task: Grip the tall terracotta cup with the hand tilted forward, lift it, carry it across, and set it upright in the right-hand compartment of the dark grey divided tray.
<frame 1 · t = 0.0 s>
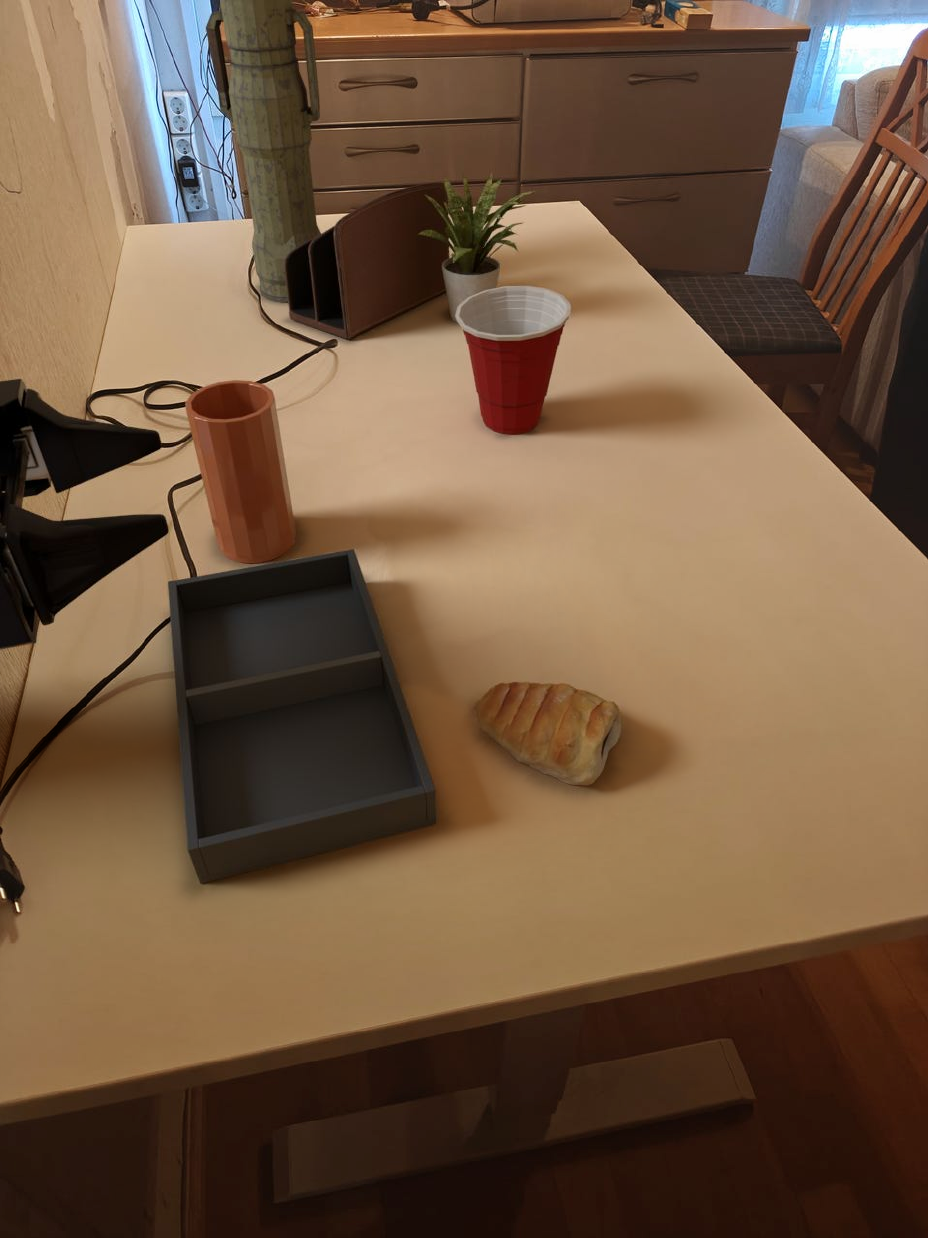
hand: (163, 478, 50), 17 cm above the table, tool horizontal, fingers open, 9 cm apart
letter holder: (372, 306, 111), on the table
cup: (257, 539, 74), on the table
house plant: (473, 321, 108), on the table
pastry: (552, 744, 57), on the table
plastic cup: (508, 422, 89), on the table
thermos: (293, 290, 115), on the table
tray: (292, 707, 60), on the table
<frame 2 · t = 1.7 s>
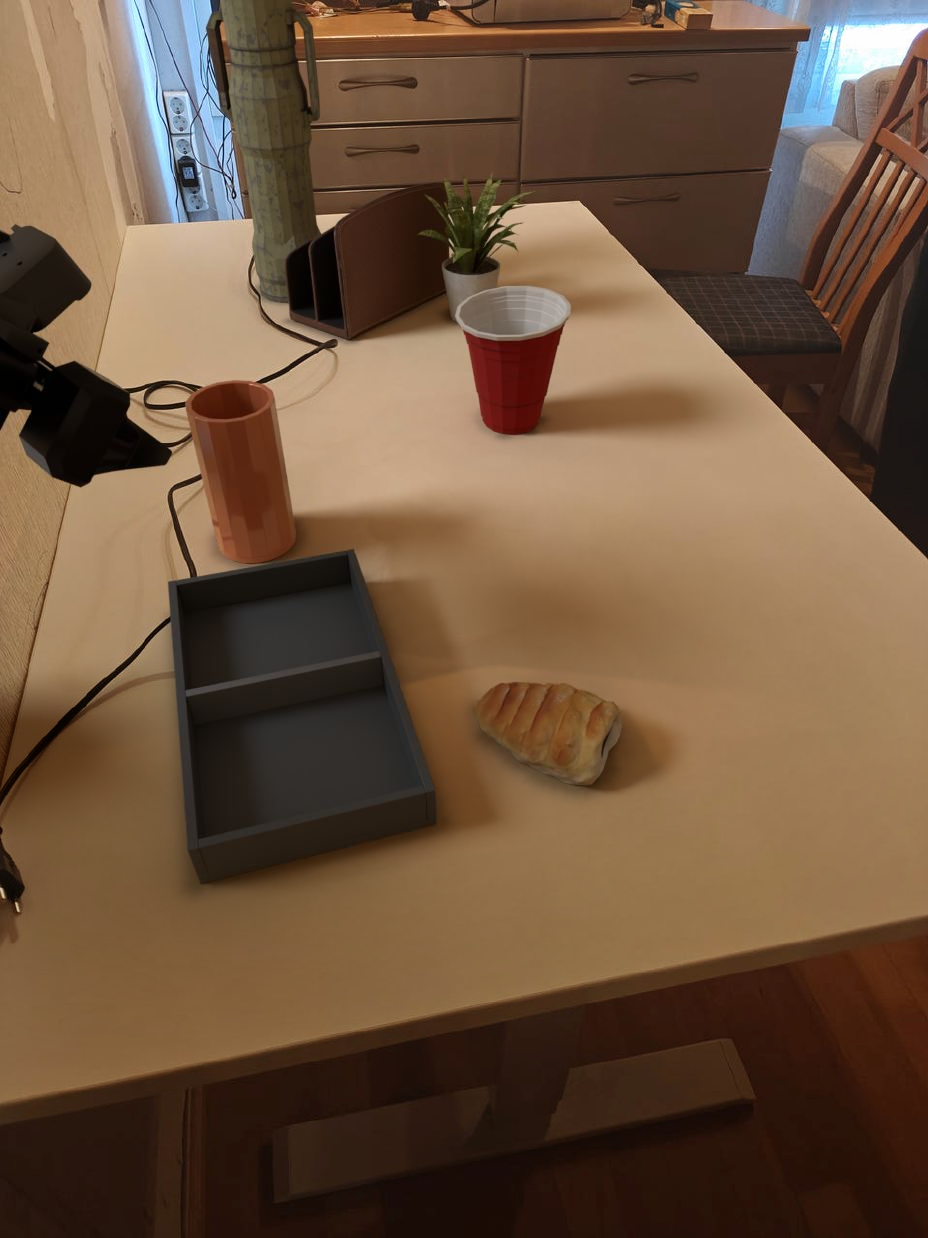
hand: (133, 432, 61), 13 cm above the table, tool tilted 45°, fingers open, 9 cm apart
nothing on the table moved.
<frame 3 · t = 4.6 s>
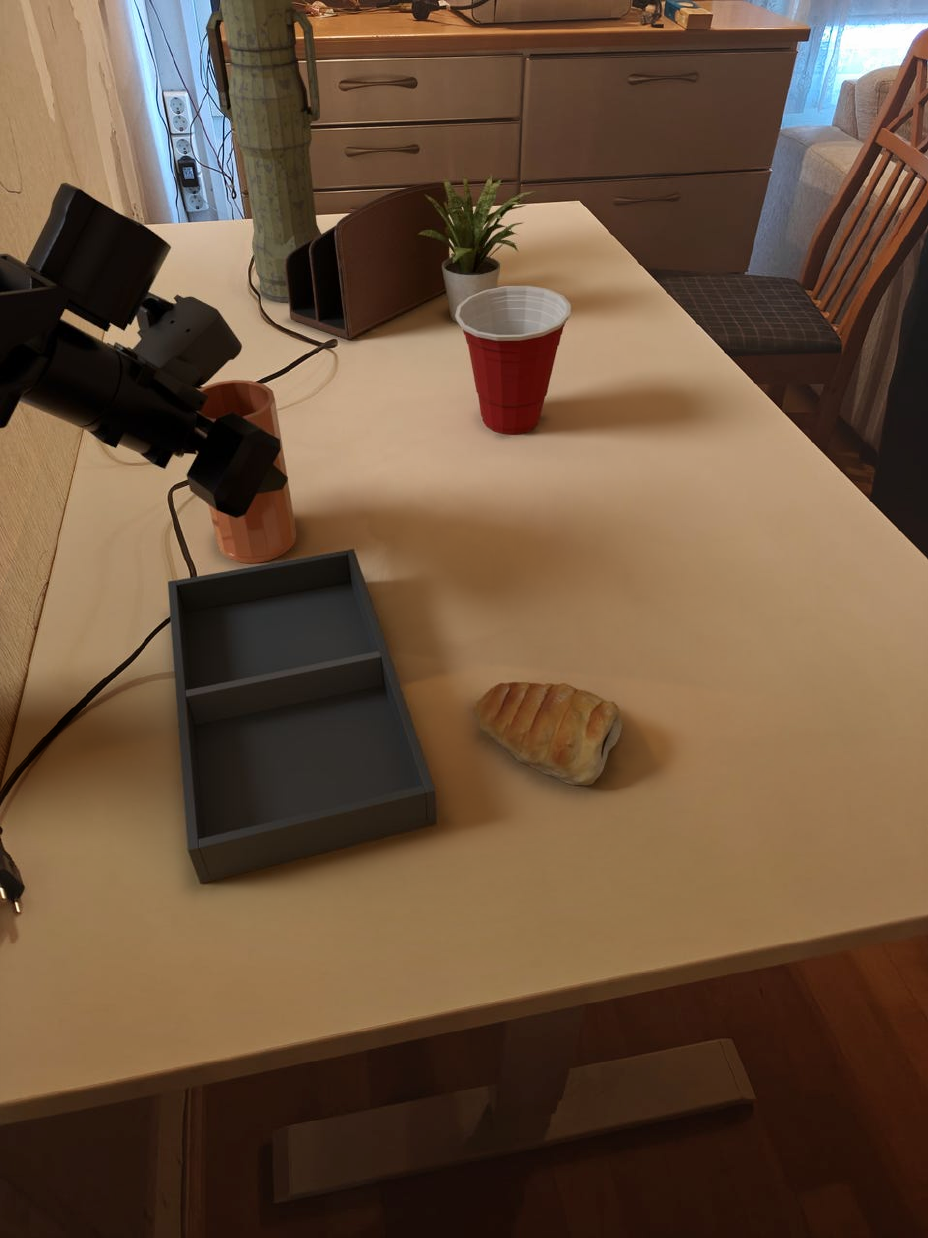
hand: (259, 466, 70), 7 cm above the table, tool tilted 45°, fingers closed on cup, 6 cm apart
cup: (257, 539, 74), on the table, touching gripper
everything else where it was.
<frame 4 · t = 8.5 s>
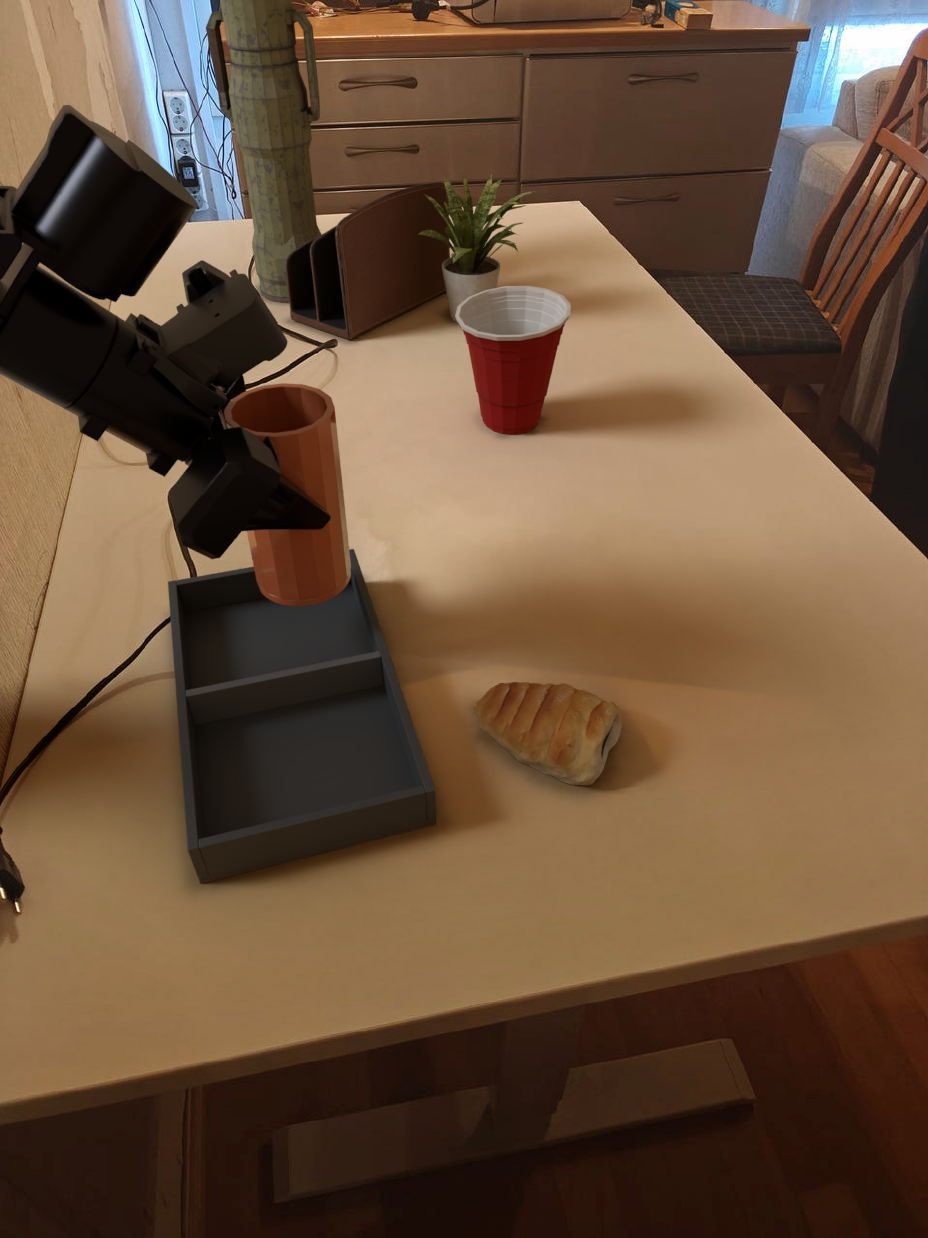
hand: (313, 493, 57), 12 cm above the table, tool tilted 45°, fingers closed on cup, 6 cm apart
cup: (304, 576, 61), point 6 cm above the table, touching gripper
everything else where it was.
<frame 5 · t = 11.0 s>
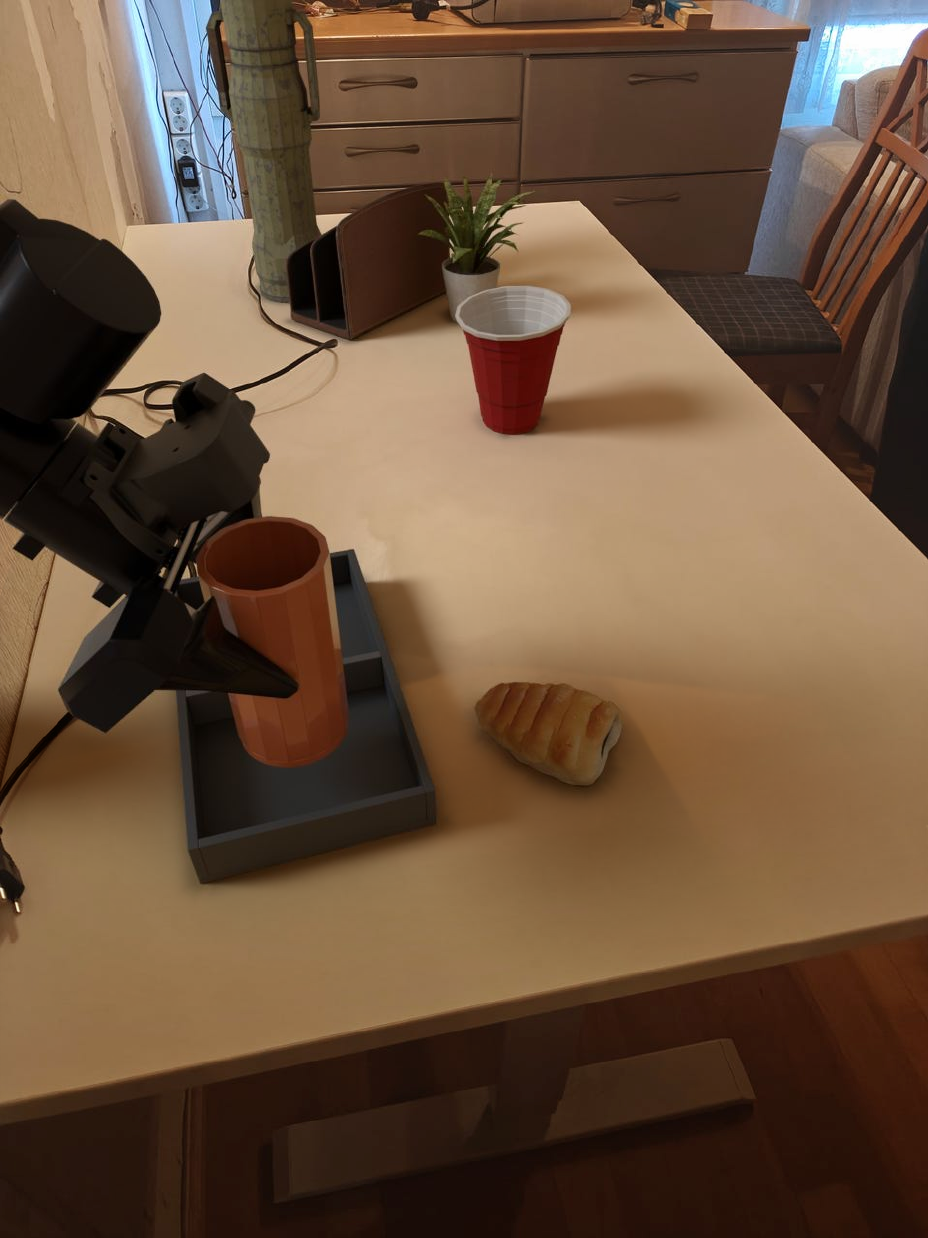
hand: (304, 646, 48), 11 cm above the table, tool tilted 45°, fingers closed on cup, 6 cm apart
cup: (294, 725, 52), point 5 cm above the table, touching gripper
everything else where it was.
when the fingers open (7 cm above the table, at t = 12.7 s): cup stays where it is, resting on tray.
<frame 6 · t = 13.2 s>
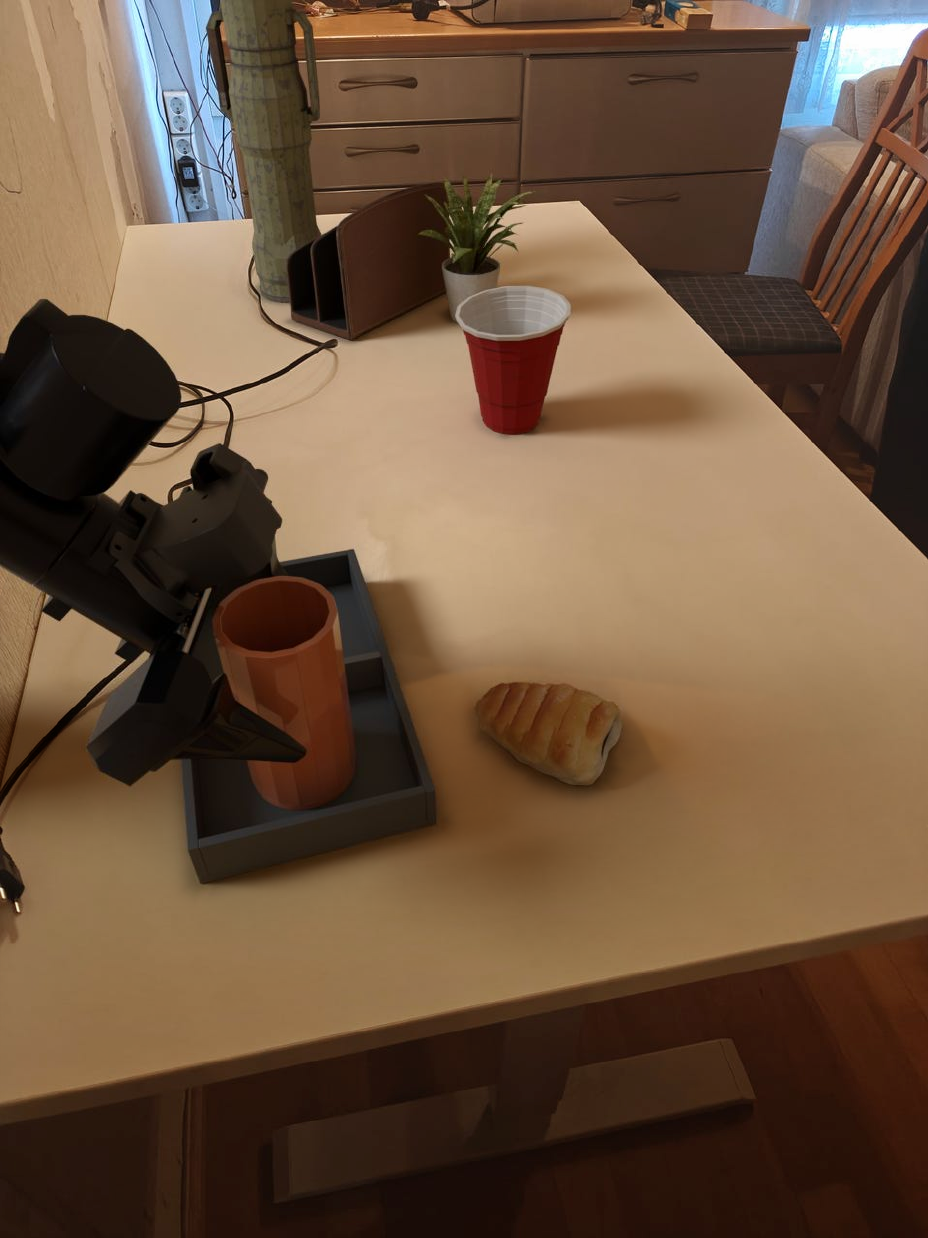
hand: (314, 694, 50), 7 cm above the table, tool tilted 45°, fingers open, 9 cm apart
cup: (304, 768, 55), point 1 cm above the table, touching tray
everything else where it was.
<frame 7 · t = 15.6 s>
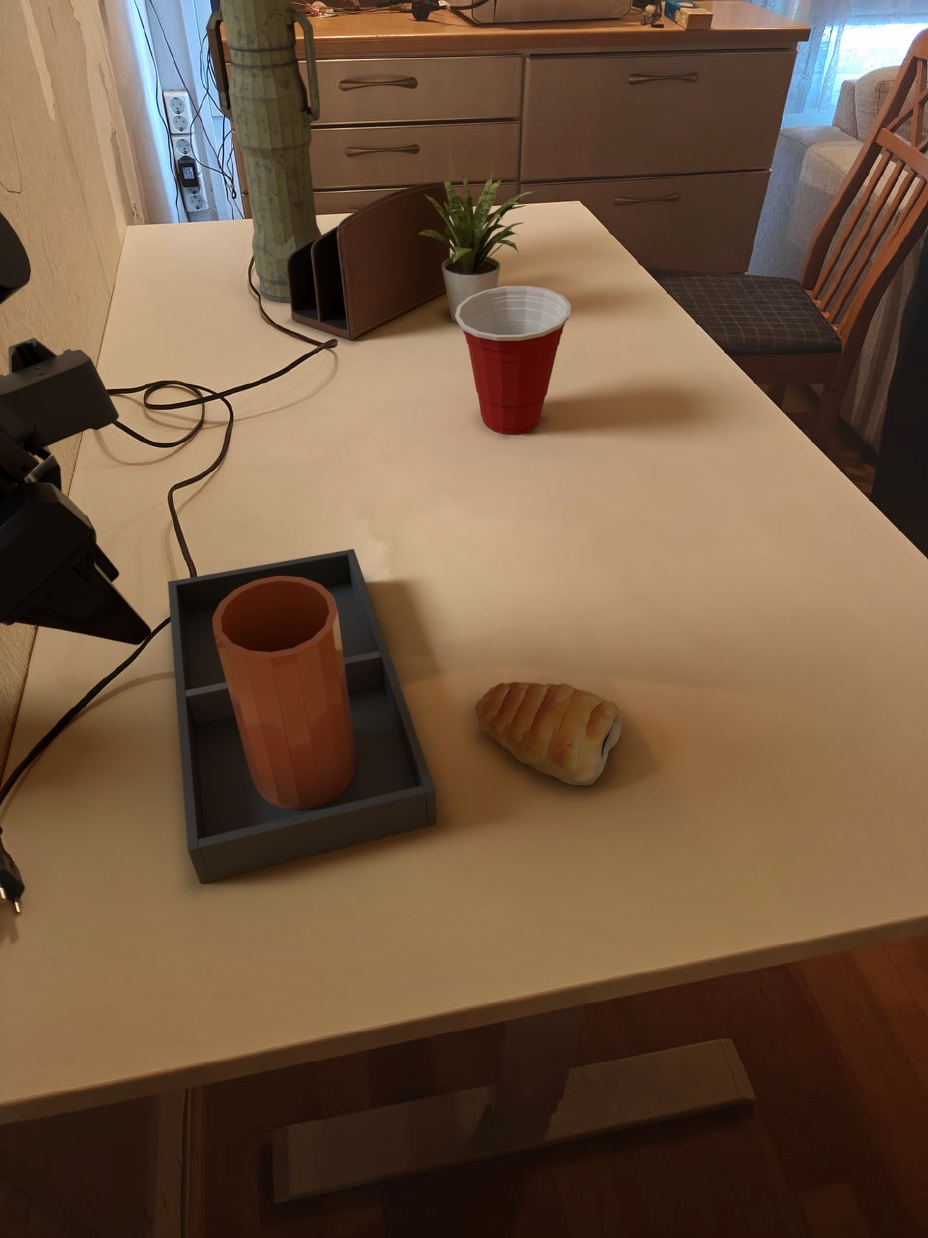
hand: (128, 606, 50), 11 cm above the table, tool tilted 30°, fingers open, 9 cm apart
nothing on the table moved.
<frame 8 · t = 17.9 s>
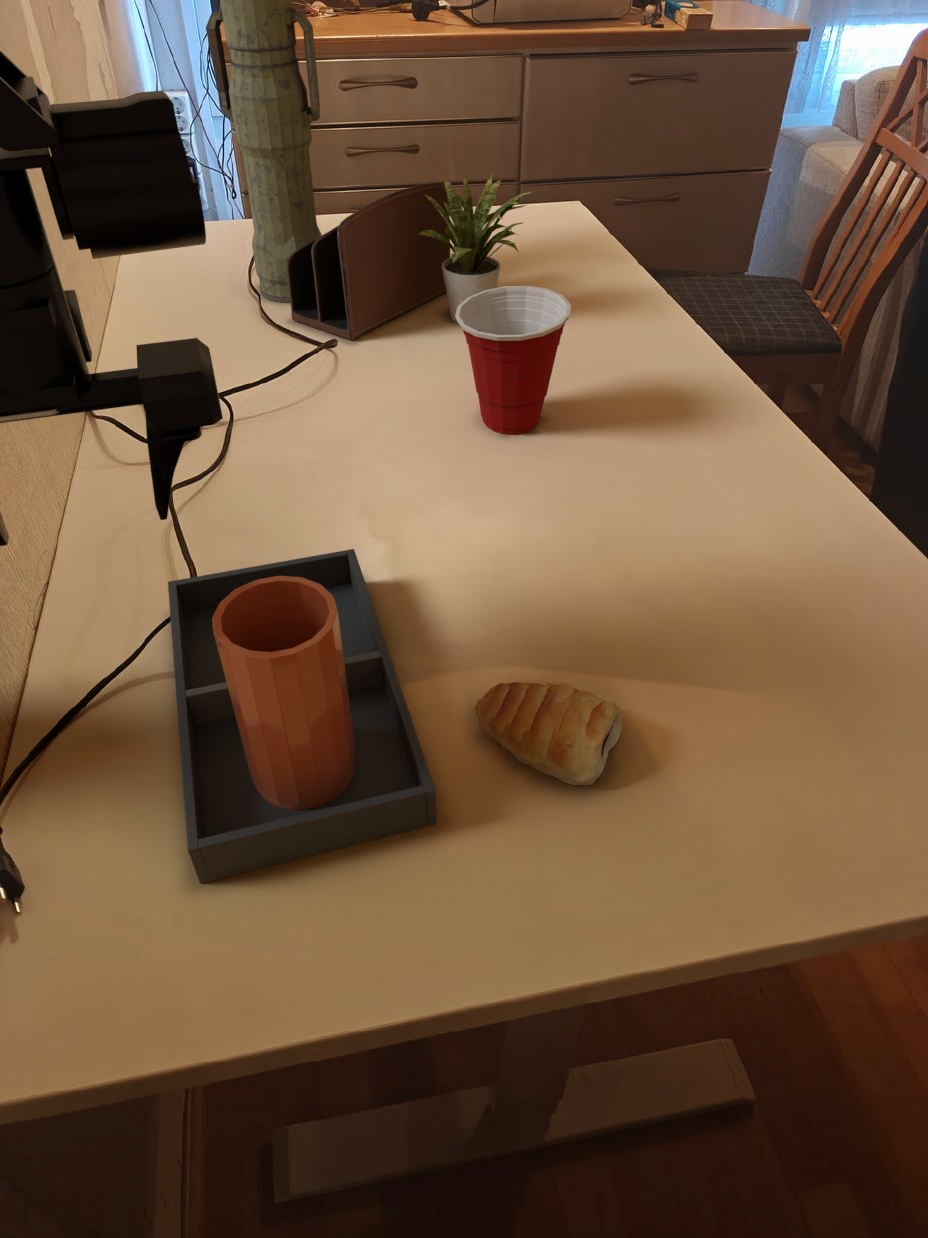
hand: (85, 528, 53), 13 cm above the table, tool pointing down, fingers open, 9 cm apart
nothing on the table moved.
at the end: cup inside the target area on the tray (0.0 cm from its centre), point 0.6 cm above the tray's base; cup tilted 0°; the gripper is holding nothing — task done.
